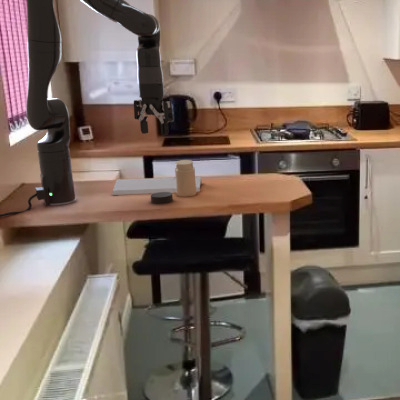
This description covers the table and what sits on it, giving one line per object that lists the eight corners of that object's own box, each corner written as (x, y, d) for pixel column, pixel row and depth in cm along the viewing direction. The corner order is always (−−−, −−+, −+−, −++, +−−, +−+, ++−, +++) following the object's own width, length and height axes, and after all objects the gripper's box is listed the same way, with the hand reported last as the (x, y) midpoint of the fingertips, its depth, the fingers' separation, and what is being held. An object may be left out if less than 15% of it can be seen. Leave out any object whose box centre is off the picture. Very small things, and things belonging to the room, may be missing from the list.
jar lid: (154, 199, 196) (154, 191, 195) (175, 199, 196) (174, 191, 195) (148, 204, 190) (148, 197, 189) (169, 204, 189) (169, 197, 189)
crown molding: (112, 195, 201) (111, 185, 200) (119, 186, 213) (118, 177, 212) (200, 192, 205) (199, 181, 204) (202, 183, 217) (201, 174, 216)
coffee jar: (180, 198, 197) (178, 165, 194) (174, 192, 203) (171, 161, 199) (199, 195, 201) (196, 162, 197) (192, 189, 206) (190, 158, 202)
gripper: (124, 81, 183) (129, 134, 187) (158, 83, 176) (163, 137, 180) (143, 80, 189) (147, 131, 193) (176, 81, 182) (180, 134, 186)
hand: (154, 134), depth 187 cm, fingers open, 8 cm apart
